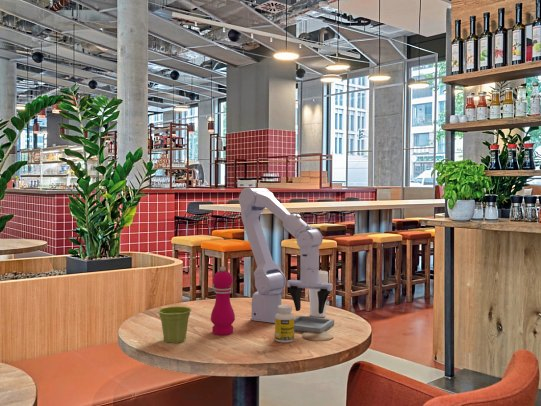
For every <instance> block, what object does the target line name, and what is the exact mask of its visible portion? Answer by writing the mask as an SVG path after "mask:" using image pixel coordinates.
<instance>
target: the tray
mask: <svg viewBox="0 0 541 406" xmlns="http://www.w3.org/2000/svg"><path fill="white" fill-rule="evenodd" d="M334 326H335V319H331V318H325V317H324V318H323V317H312V316H307V315H301V314H299V315H297V316H296V317H295V316H294V332H297V333H298V332H299V333H305V332H314V333H322V332H323V331H325V332H327V331H328V330H330V329H331V328H332V327H334Z"/></svg>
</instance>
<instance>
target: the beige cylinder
mask: <svg viewBox="0 0 541 406" xmlns="http://www.w3.org/2000/svg"><path fill="white" fill-rule="evenodd" d="M319 282H324V283H329V272H328V271H327V270H319ZM318 291H320V290H319V289H309V288H308V299H309V315H310V317H317V318H323V317H324V318H325V316H326V315H327V303H328V299H327V300H326V302H325V306H324V310H323V313H322V314H319V311H318V308H319V301H318V294H317V292H318Z"/></svg>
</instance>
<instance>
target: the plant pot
mask: <svg viewBox="0 0 541 406" xmlns="http://www.w3.org/2000/svg"><path fill="white" fill-rule="evenodd" d="M157 313H158V315H159V318H160V322H161V328H162V336H163V341H164V342H166V343H171V342H172V343H174V344H176V343H181V342H184V341H185V340H186V339H187V333H188V326H189V325H188V323H189V317H190V315H191V313H192V308H191V307H187V306H166V307H162V308H160V309H158V310H157Z"/></svg>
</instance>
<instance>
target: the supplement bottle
mask: <svg viewBox="0 0 541 406" xmlns="http://www.w3.org/2000/svg"><path fill="white" fill-rule="evenodd" d="M292 311H293V307H292V305H290V304H281V305H279V306H278V312H279V313H277V314H276V315H275V323H274V340H275V341H276V342H279V343H285V344H287V343H291V342H293V341H294V339H295V338H294V337H295V336H294V335H295V331H294V318H295V315H294V313H292Z"/></svg>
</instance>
